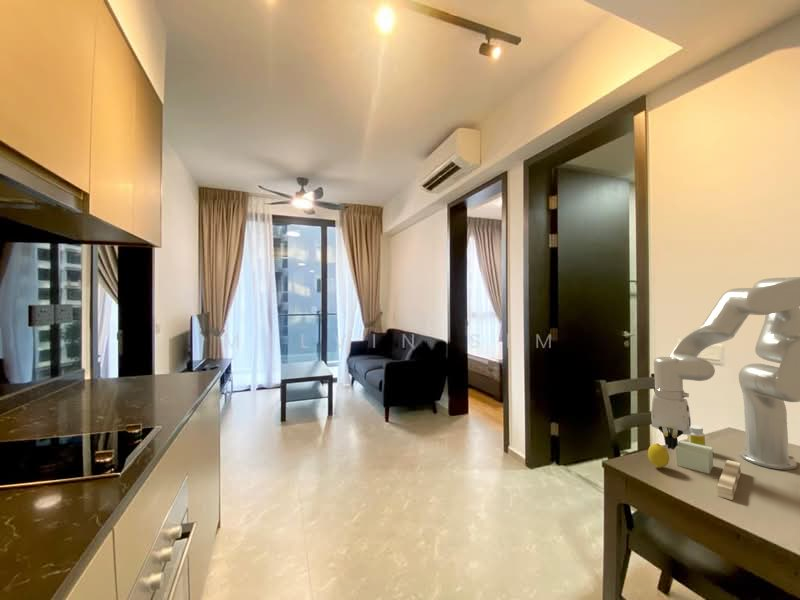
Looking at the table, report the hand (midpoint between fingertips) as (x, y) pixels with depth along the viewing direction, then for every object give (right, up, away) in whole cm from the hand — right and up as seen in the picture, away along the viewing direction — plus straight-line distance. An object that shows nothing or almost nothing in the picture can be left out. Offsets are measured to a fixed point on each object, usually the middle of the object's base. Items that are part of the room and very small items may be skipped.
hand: (671, 447), depth 116 cm
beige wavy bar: (+5, -4, -15) cm, 17 cm away
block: (+4, -4, -4) cm, 7 cm away
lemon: (-8, -5, -5) cm, 10 cm away
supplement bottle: (+13, -4, +6) cm, 15 cm away
